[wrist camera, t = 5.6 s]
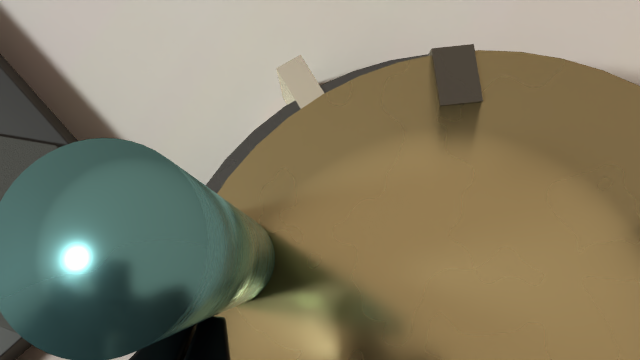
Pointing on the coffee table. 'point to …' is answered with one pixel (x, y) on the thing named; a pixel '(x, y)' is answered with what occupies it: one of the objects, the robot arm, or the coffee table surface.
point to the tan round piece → (355, 226)
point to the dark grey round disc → (288, 107)
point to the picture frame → (22, 157)
